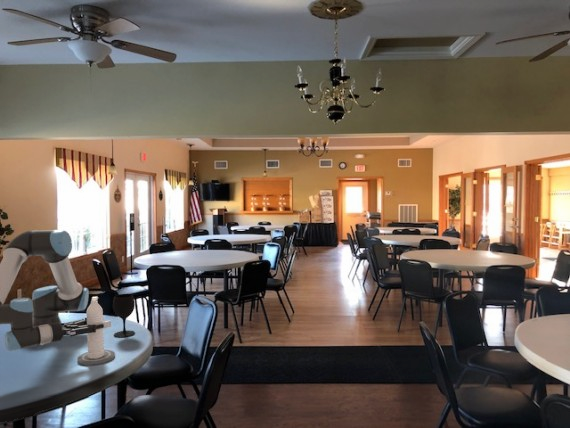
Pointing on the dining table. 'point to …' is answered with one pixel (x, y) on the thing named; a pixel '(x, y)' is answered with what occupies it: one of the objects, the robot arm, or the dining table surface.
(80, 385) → the dining table surface
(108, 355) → the slate coaster
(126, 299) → the wine glass
